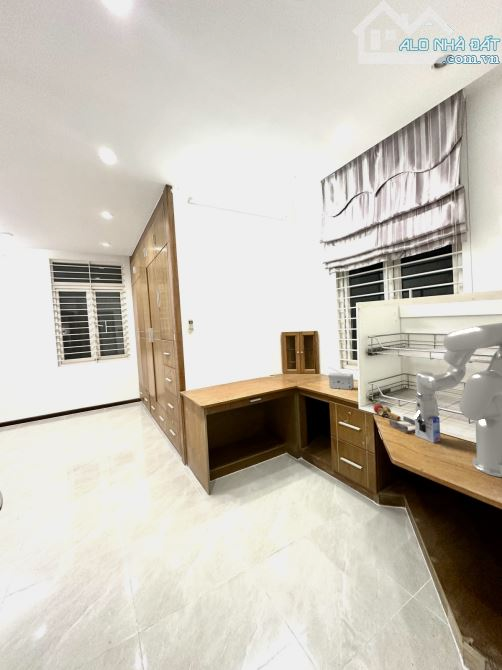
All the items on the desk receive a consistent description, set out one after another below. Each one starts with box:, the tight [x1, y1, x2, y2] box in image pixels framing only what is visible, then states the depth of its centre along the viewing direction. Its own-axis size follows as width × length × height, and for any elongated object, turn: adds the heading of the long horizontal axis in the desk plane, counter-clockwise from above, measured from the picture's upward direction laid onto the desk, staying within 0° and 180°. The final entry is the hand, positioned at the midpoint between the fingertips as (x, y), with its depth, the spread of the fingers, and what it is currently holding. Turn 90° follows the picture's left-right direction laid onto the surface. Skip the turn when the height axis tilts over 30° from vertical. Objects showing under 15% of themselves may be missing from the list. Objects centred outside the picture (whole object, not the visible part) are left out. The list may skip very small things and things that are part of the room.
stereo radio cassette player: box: [327, 366, 355, 390], centre depth 233 cm, size 21×8×20 cm, turn 53°
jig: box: [388, 415, 415, 435], centre depth 147 cm, size 12×11×4 cm
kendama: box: [373, 403, 401, 422], centre depth 165 cm, size 8×6×18 cm
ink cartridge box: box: [414, 413, 441, 444], centre depth 133 cm, size 10×6×14 cm, turn 22°
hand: (427, 429), depth 133 cm, fingers closed on ink cartridge box, 5 cm apart
